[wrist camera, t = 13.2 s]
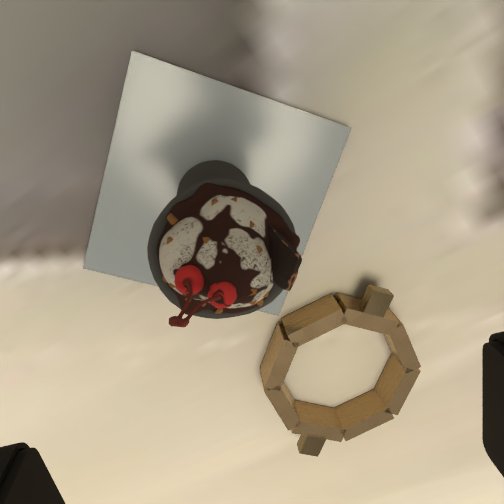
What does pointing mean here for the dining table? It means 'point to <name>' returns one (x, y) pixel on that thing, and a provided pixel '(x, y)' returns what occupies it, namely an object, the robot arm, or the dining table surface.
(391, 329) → the collar
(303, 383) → the dining table surface
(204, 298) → the sundae
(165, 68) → the plate
